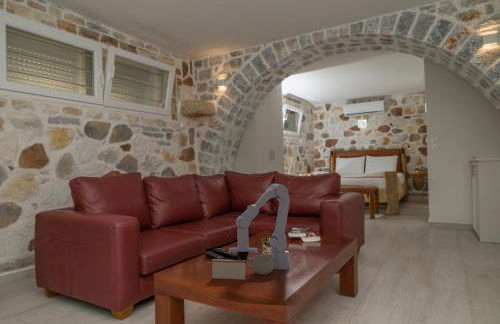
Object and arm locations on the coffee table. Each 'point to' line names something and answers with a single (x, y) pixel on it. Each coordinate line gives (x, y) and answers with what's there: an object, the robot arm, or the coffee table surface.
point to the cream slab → (228, 269)
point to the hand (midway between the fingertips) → (243, 266)
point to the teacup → (262, 263)
